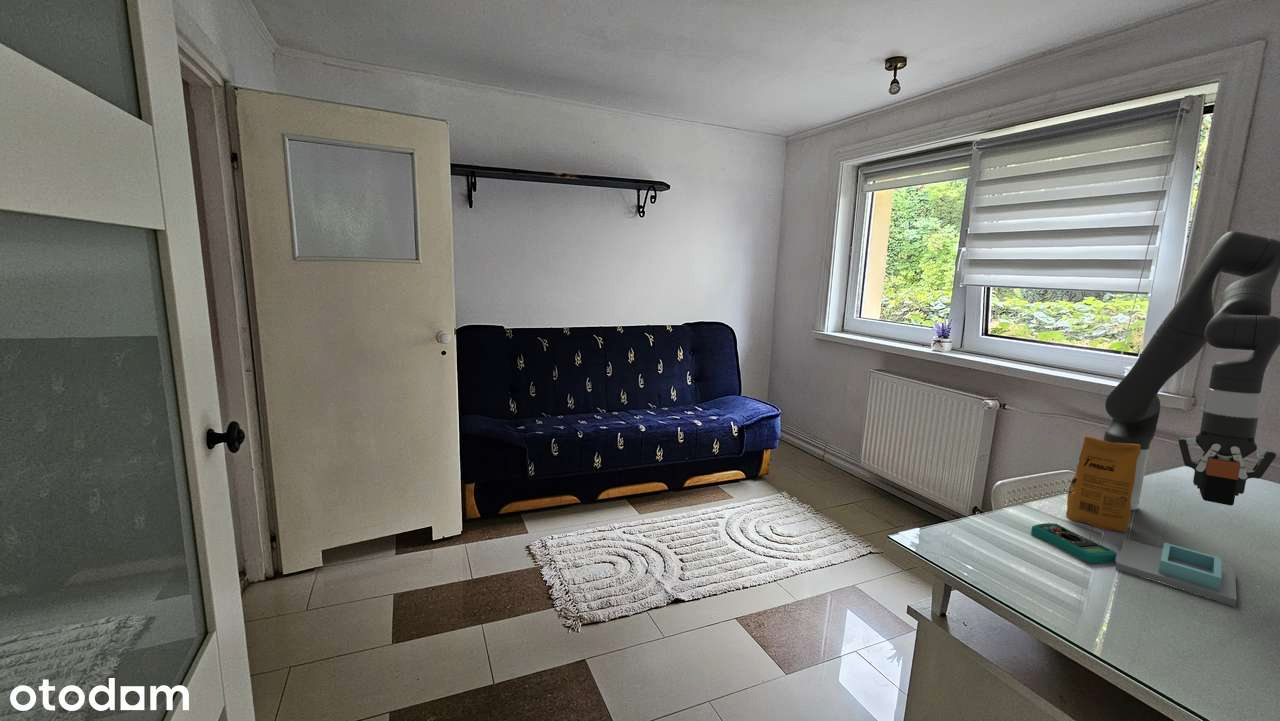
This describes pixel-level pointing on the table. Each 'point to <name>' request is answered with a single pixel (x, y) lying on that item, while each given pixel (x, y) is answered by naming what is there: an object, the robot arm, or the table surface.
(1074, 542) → the digital multimeter
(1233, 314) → the robot arm
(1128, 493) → the coffee package
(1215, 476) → the battery
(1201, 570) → the plate
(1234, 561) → the table surface
